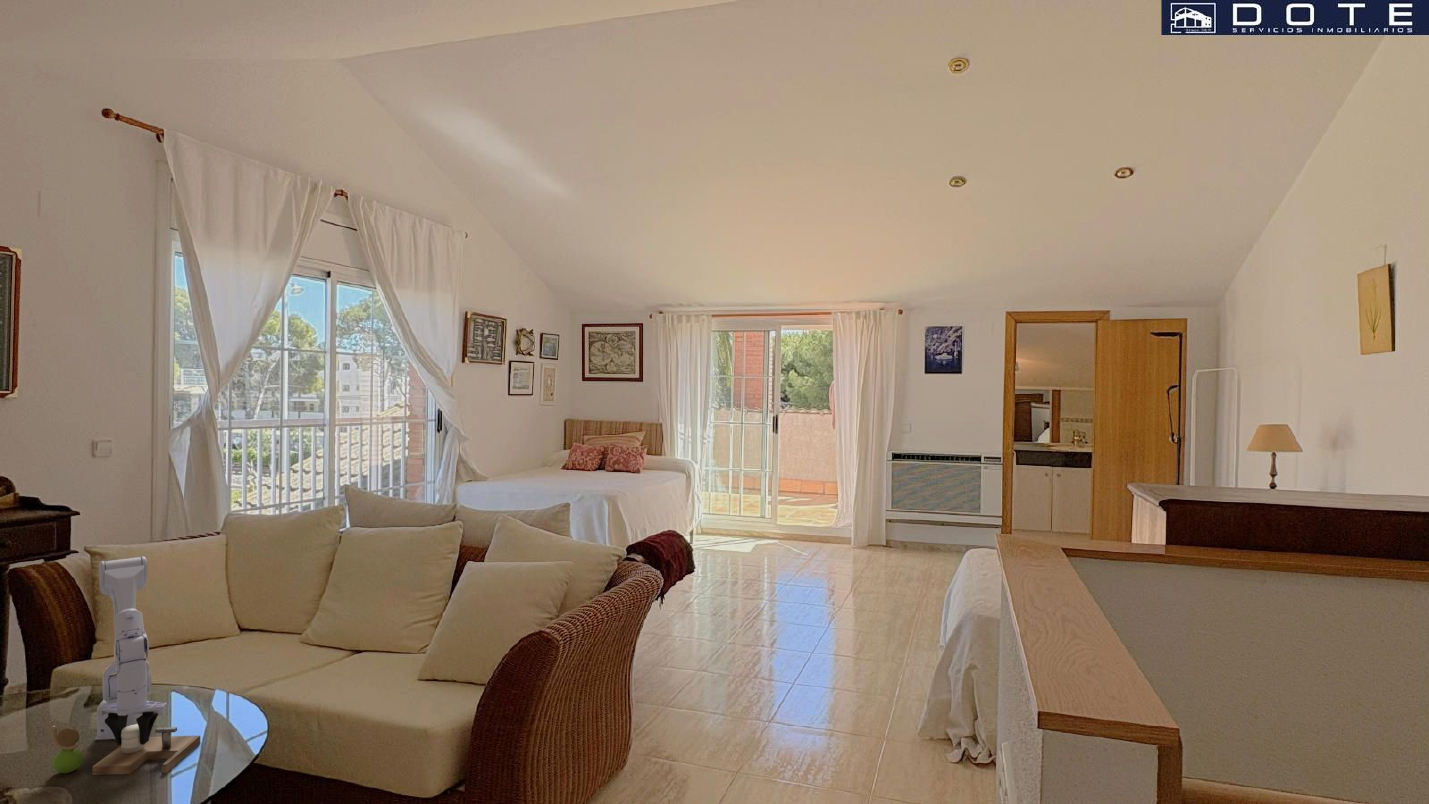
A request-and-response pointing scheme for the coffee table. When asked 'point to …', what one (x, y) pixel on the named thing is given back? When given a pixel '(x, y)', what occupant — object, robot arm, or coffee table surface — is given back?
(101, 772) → the shelf board
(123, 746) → the ribbed cream cylinder
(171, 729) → the hook post
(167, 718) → the coffee table surface
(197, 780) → the coffee table surface
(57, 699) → the coffee table surface
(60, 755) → the snail figurine
